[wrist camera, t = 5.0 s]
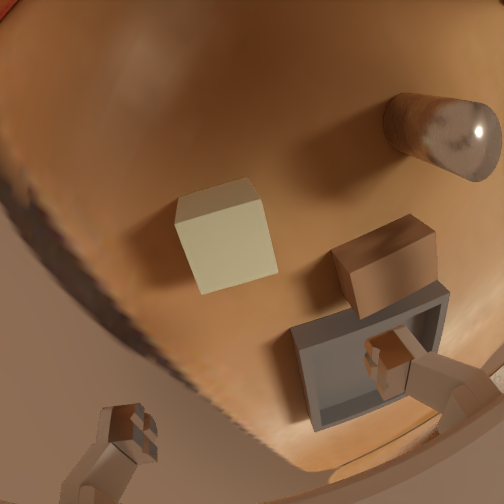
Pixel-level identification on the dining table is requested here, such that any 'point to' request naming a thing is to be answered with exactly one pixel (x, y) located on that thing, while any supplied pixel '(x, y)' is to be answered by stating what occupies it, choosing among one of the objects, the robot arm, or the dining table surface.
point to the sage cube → (225, 235)
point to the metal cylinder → (445, 133)
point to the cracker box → (6, 6)
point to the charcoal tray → (359, 354)
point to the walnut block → (386, 264)
